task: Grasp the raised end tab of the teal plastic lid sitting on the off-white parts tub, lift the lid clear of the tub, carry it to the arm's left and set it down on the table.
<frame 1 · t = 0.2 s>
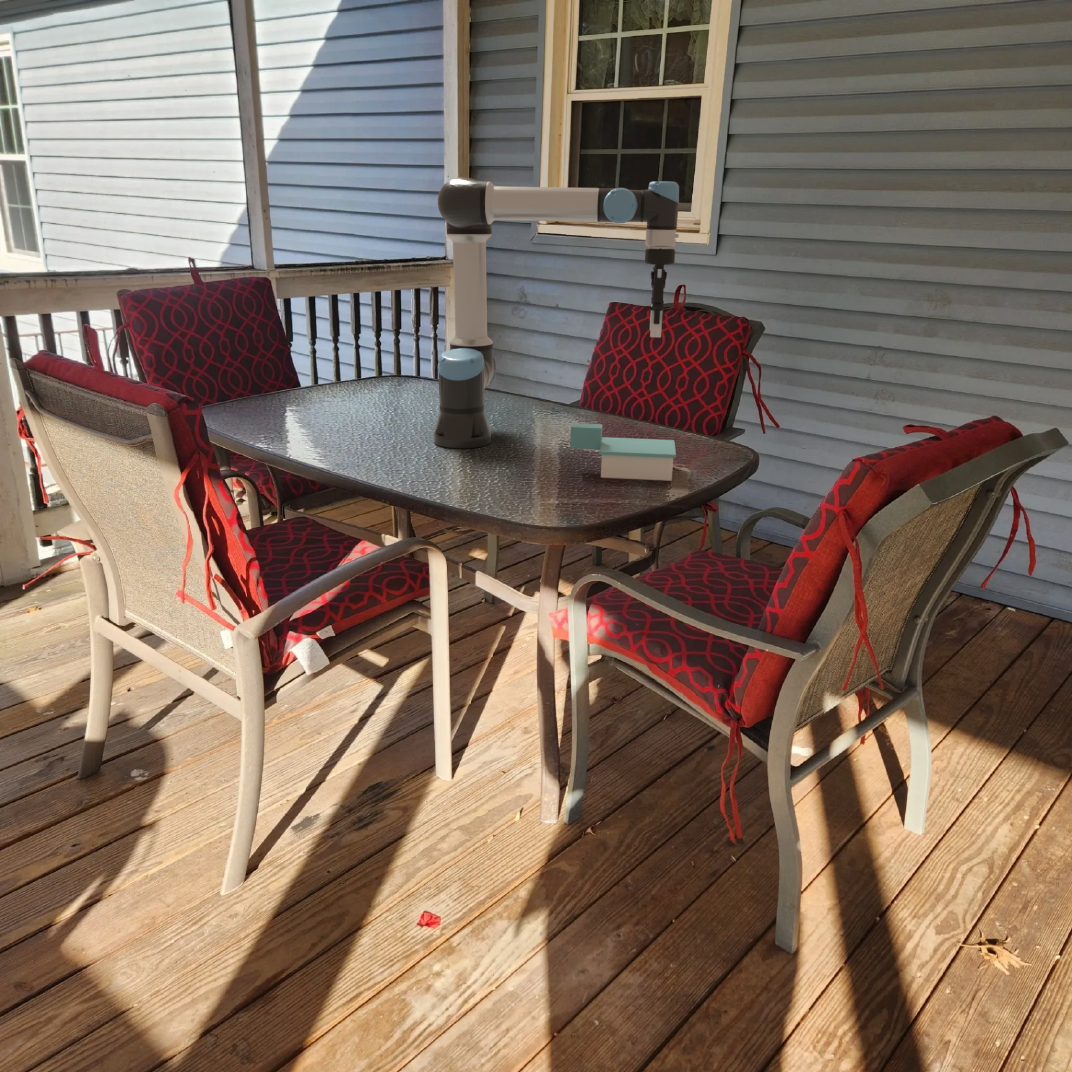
hand: (655, 333, 223), 28 cm above the table, fingers open, 13 cm apart
block a: (623, 470, 200), point 1 cm above the table, touching tub
lid: (637, 448, 197), point 6 cm above the table, touching tub
block b: (651, 472, 199), point 1 cm above the table, touching tub
tub: (636, 473, 200), on the table
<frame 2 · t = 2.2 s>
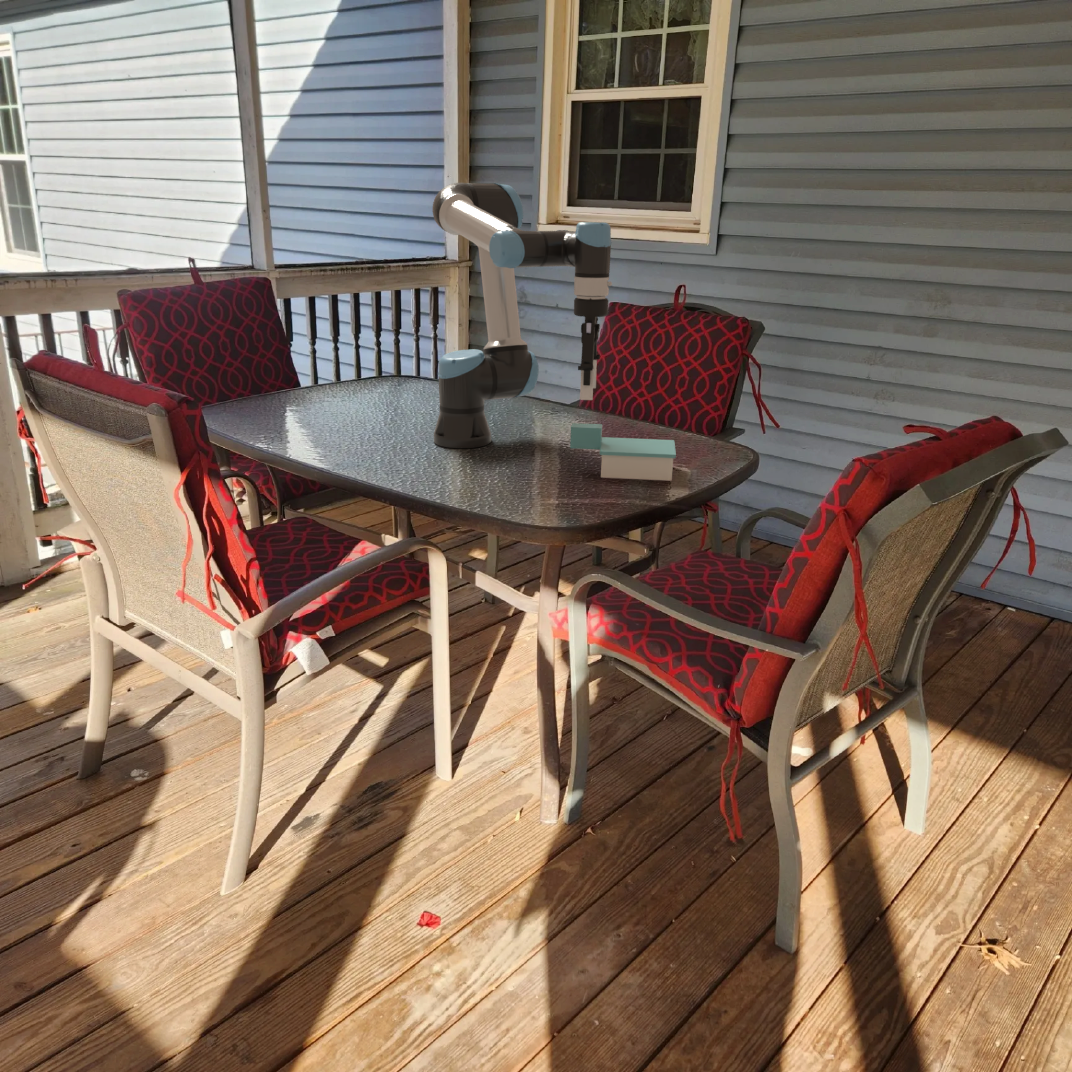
hand: (588, 393, 194), 18 cm above the table, fingers open, 13 cm apart
nothing on the table moved.
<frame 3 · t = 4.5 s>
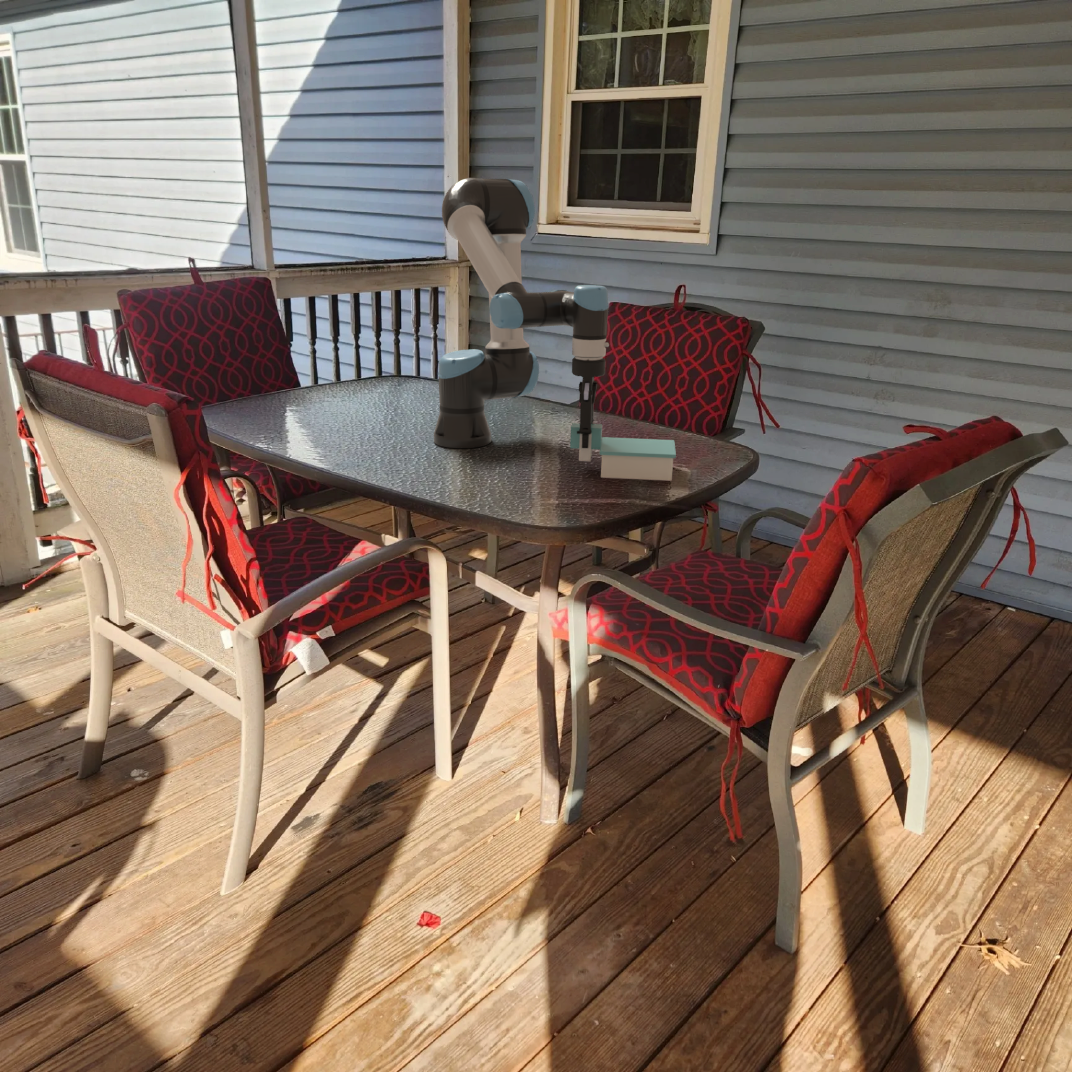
hand: (585, 457, 200), 3 cm above the table, fingers closed on lid, 4 cm apart
lid: (637, 448, 197), point 6 cm above the table, touching gripper, tub
everything else where it was.
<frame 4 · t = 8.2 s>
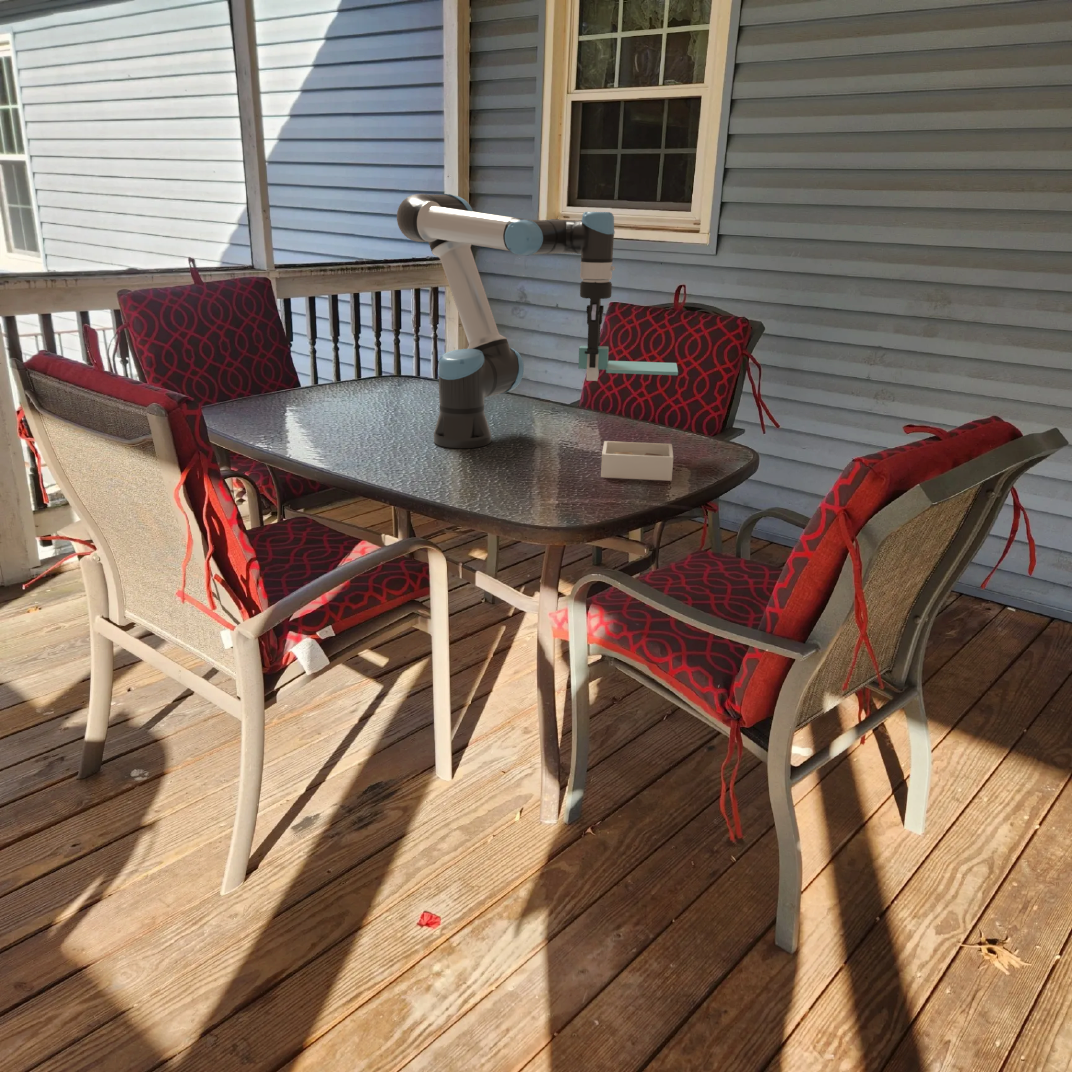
hand: (592, 378, 212), 18 cm above the table, fingers closed on lid, 4 cm apart
lid: (642, 369, 210), point 21 cm above the table, touching gripper
everything else where it was.
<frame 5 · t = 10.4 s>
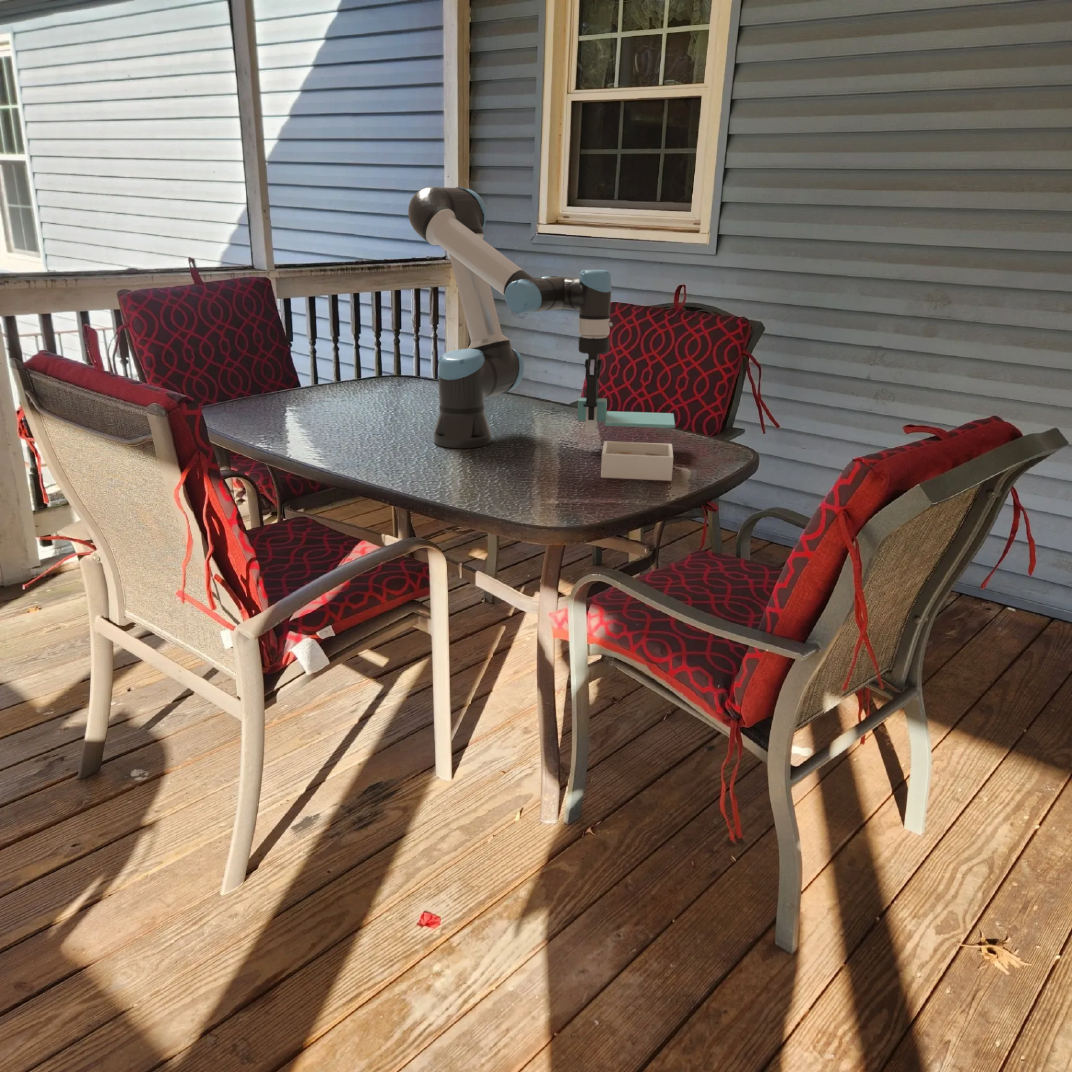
hand: (591, 429, 216), 5 cm above the table, fingers closed on lid, 4 cm apart
lid: (639, 420, 214), point 8 cm above the table, touching gripper
everything else where it was.
when the fingers open (0 cm above the table, at t = 12.2 s): lid drops 3 cm, on the table.
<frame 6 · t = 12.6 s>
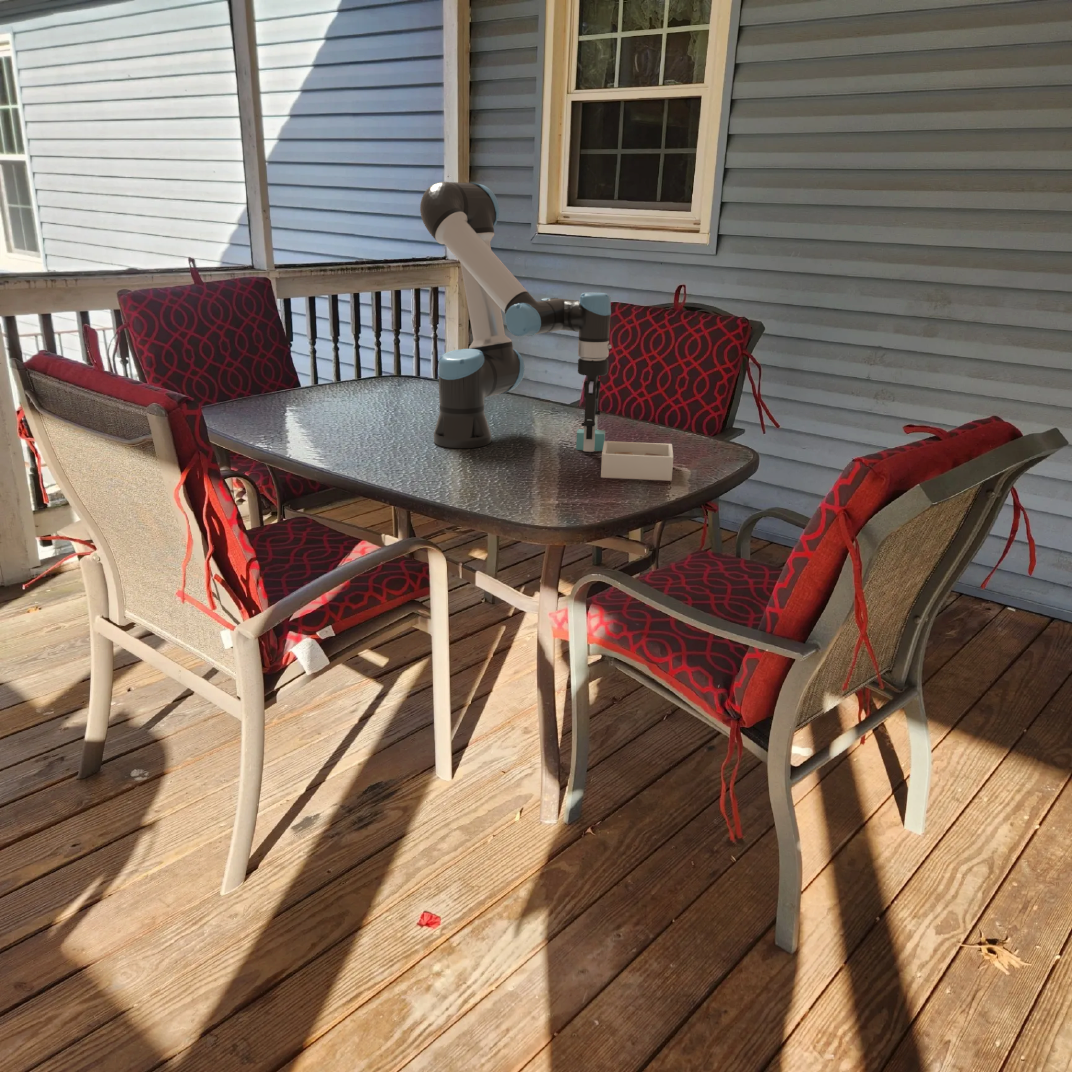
hand: (590, 445, 218), 1 cm above the table, fingers open, 10 cm apart
lid: (637, 452, 217), on the table
everything else where it was.
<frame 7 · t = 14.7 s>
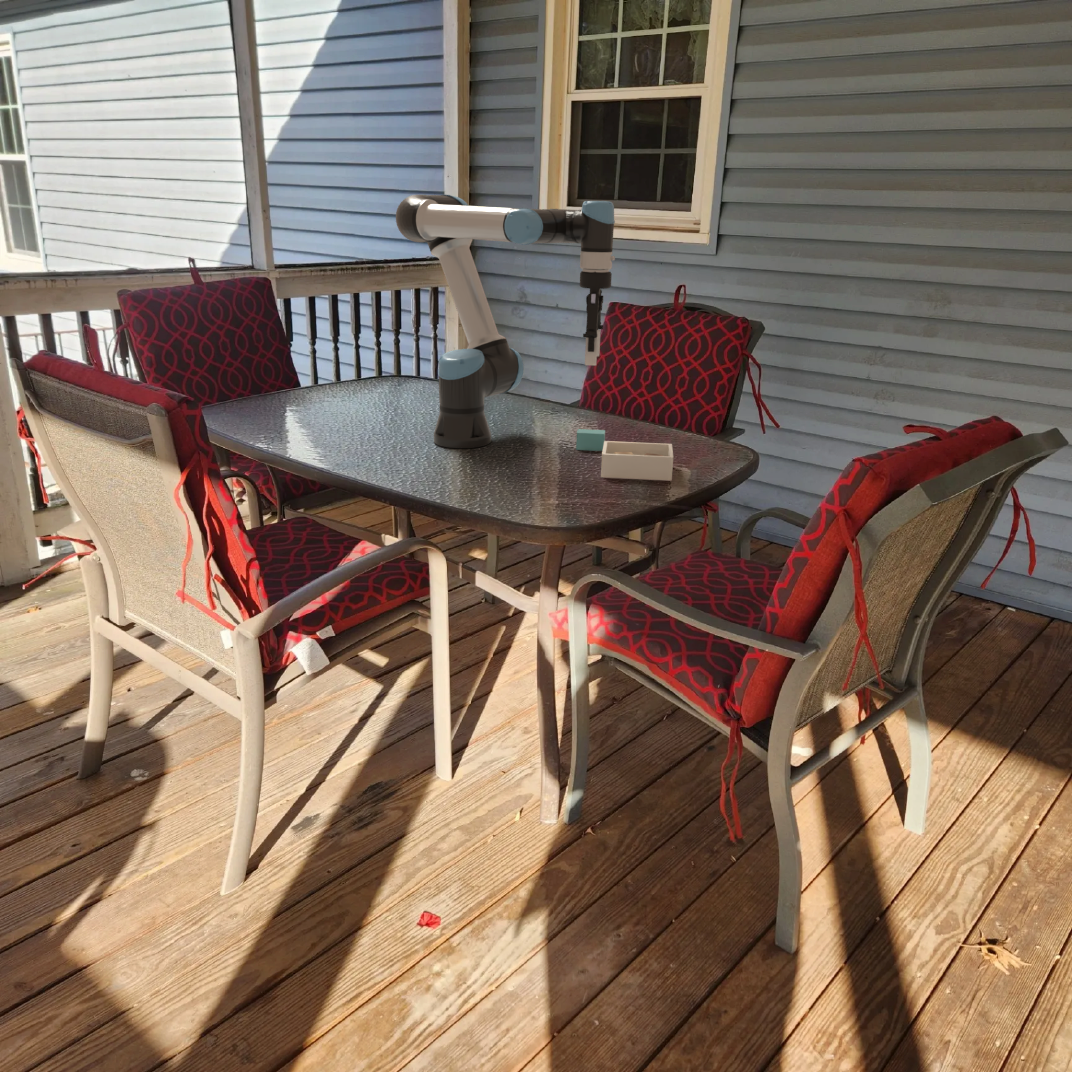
hand: (592, 360, 211), 23 cm above the table, fingers open, 13 cm apart
nothing on the table moved.
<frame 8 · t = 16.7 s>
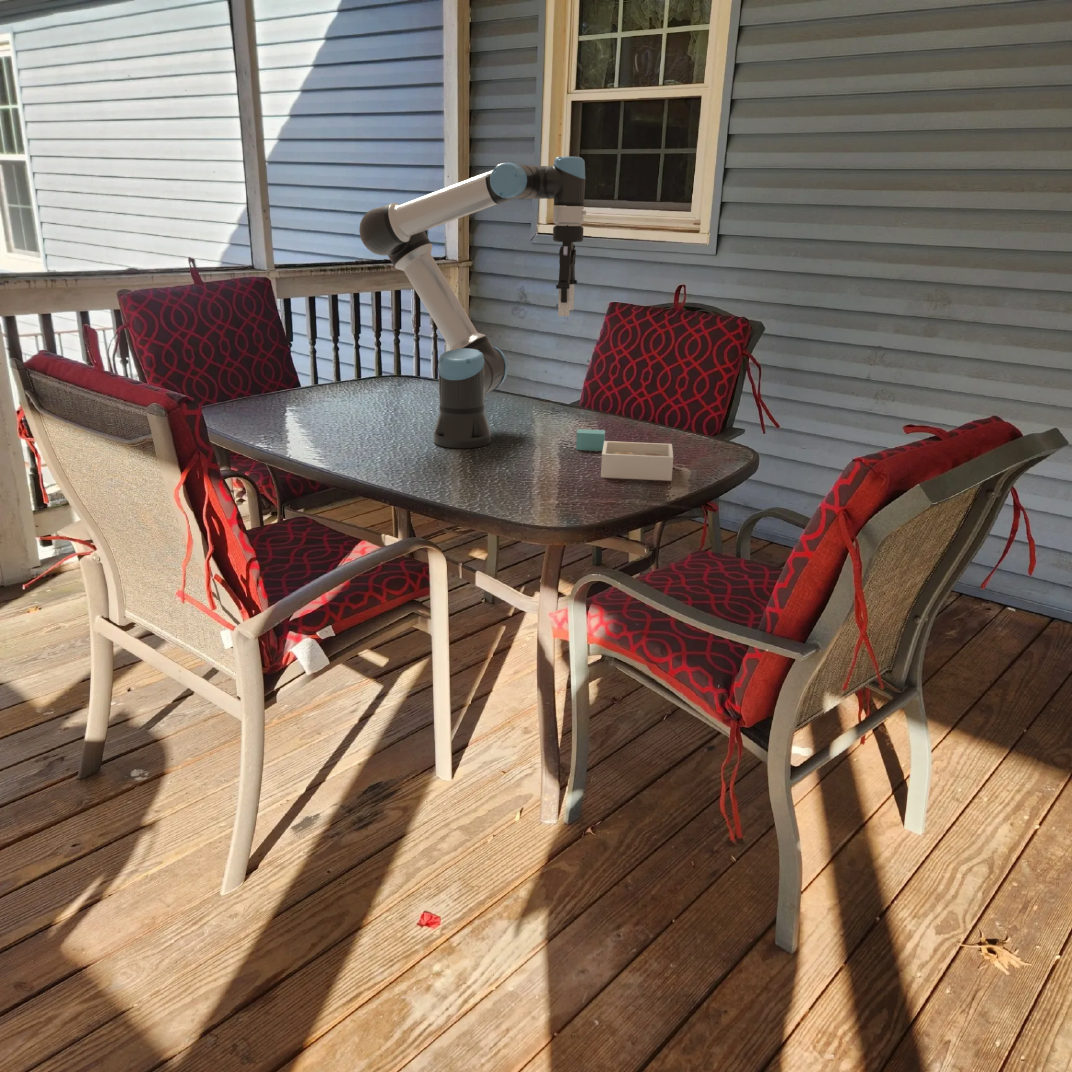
hand: (566, 313, 219), 33 cm above the table, fingers open, 13 cm apart
nothing on the table moved.
at the end: lid inside the target area (0.1 cm from its centre), on the table; lid touching table; the gripper is holding nothing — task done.
